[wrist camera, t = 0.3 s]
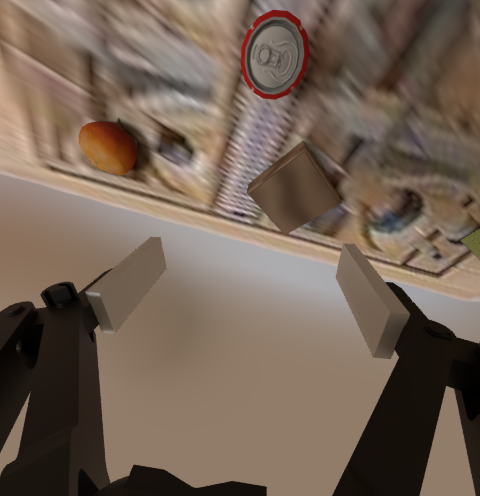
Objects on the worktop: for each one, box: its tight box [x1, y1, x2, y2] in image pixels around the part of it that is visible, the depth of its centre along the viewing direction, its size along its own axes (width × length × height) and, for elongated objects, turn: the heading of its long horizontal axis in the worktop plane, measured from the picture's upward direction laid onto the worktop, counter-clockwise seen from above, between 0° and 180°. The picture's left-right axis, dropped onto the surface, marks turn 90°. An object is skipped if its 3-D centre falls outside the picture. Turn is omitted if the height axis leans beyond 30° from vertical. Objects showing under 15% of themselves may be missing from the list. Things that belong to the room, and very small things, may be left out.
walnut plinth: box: [247, 141, 342, 235], centre depth 37 cm, size 11×11×4 cm
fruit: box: [79, 118, 138, 175], centre depth 35 cm, size 8×8×8 cm
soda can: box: [241, 10, 309, 99], centre depth 23 cm, size 6×6×12 cm
